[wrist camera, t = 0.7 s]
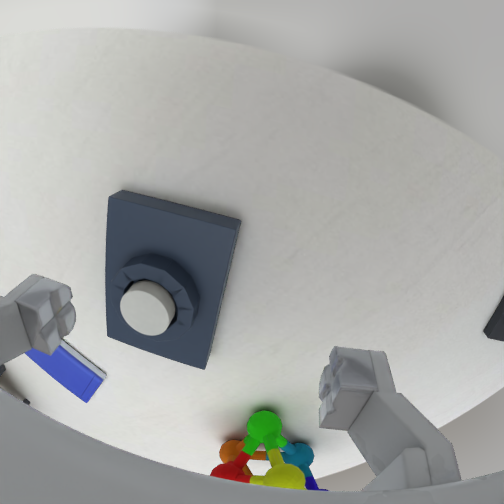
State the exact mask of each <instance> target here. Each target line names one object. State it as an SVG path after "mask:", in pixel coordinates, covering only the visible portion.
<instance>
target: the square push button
mask: <svg viewBox="0 0 504 504" xmlns="http://www.w3.org/2000/svg"><path fill="white" fill-rule="evenodd" d="M483 332H484V333H485V335H486V336H487V338H490V339H495V340H500V341H504V297H503V299H502V300H501V302H500V304H499V306H498V308H497V309H496V311H495V313H494V314H493V316H492V318H491V319H490V321H489V323H488V324H487V326H486V328H485V329H484V331H483Z"/></svg>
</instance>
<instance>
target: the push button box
mask: <svg viewBox="0 0 504 504" xmlns="http://www.w3.org/2000/svg"><path fill="white" fill-rule="evenodd" d="M240 224H241V220H238V219H235V218H231V217H227V216H223V215H220V214H216V213H212V212H208V211H204V210H201V209H197V208H193V207H189V206H185V205H181V204H177V203H173V202H169V201H165V200H161V199H157V198H153V197H149V196H145V195H141V194H137V193H133V192H129V191H125V190H121V191H119V192H117V193H115V194H113V195H111V196H109V199H108V213H107V231H106V266H105V286H106V321H107V336H108V337H110V338H113V339H115V340H118V341H121V342H123V343H126V344H128V345H131V346H134V347H137V348H139V349H142V350H145V351H148V352H151V353H153V354H156V355H159V356H162V357H165V358H168V359H171V360H174V361H177V362H180V363H184V364H187V365H190V366H193V367H197V368H200V369H203V370H205V368H206V365H207V362H208V359H209V356H210V352H211V348H212V343H213V339H214V335H215V330H216V326H217V321H218V317H219V313H220V308H221V304H222V300H223V296H224V291H225V287H226V283H227V278H228V274H229V270H230V266H231V262H232V257H233V253H234V249H235V245H236V241H237V237H238V233H239V228H240ZM143 280H147V281H152V282H155V283H158V284H160V285H161V286H163V287H164V288H165V289H166V290H167V291H168V292H169V293H170V294H171V296H172V298H173V300H174V302H175V308H176V309H175V315H174V317H173V319H172V321H171V322H170V324H169V326H168V328H167V329H166V330H165V331H164V332H163V333H161V334H159V335H153V336H151V335H145V334H142V333H140V332H138V331H136V330H134V329H133V328H132V327H131V326H130V325H129V324H128V323H127V322H126V321H125V319H124V318H123V316H122V313H121V309H120V302H121V299H122V297H123V296H124V294H125V293H126V292H127V291H128V290H129V289H130V287H131V286H132V285H133V284H135V283H136V282H139V281H143Z"/></svg>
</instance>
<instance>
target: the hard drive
mask: <svg viewBox="0 0 504 504" xmlns="http://www.w3.org/2000/svg"><path fill="white" fill-rule="evenodd" d="M25 354H26V355H27V356H28V357H30V358H31V359H32V360H33V361H34V362H35V363H36V364H37V365H39V366H40V367H41V368H42V369H43V370H44V371H46V372H47V373H48V374H49V375H50V376H52V377H53V378H54V379H55V380H56V381H58V382H59V383H60V384H62V385H63V386H64V387H65V388H67V389H68V390H69V391H71V392H72V393H73V394H75V395H76V396H77V397H79V398H80V399H81V400H83V401H84V402H85V403H87V402H88V401H89V400H90V398H91V397H92V395H93V394H94V393H95V391H96V390H97V388H98V387H99V386H100V384H101V383H102V382H103V380H104V379H105V377H106V374H105V373H103V372H102V371H101V370H99V369H98V368H97V367H96V366H94V365H93V364H92V363H90V362H89V361H88V360H87V359H85V358H84V357H83V356H81V355H80V354H79V353H78V352H76V351H75V350H74V349H73V348H72V347H70V346H69V345H68V344H67V343H65V342H64V341H63V340H62V339H61V344H60V345H59V346H58V347H57V349H56V350H55V351H54V352H53V353H52V355H51V356H50V355H48V354H45V353H43V352H41V351H38V350H36V349H34V348H32V349H31V350H29V351H27V352H25Z"/></svg>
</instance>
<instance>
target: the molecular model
mask: <svg viewBox="0 0 504 504" xmlns="http://www.w3.org/2000/svg"><path fill="white" fill-rule="evenodd" d="M281 430H282V423H281V420H280V419H279V417H278V416H277V415H276V414H274V413H272V412H271V411H264V410H263V411H259V412H256V413H255V414H253V415H252V416H251V417H250V418H249V421H248V423H247V432H248V435H247V436H246V437H245V438H244V439H243V440H242V441H239V440H230V441H227V442H226V443H224V444H223V445H222V446H221V449H220V451H219V453H220V458H221V460H222V462H223V463H225V464H220V465H218V466H217V467H215V468H214V469H213V470H212V472H211V474H210V476H213V477H217V478H222V479H227V480H233V481H238V482H244V483H250V484H256V485H263V486H271V487H279V488H289V489H300V490H315V491H328V490H326V489H319V488H318V486H317V484H316V482H315V479H314V477H313V475H312V473H311V471H310V468H309V466H310V465H311V464H312V462H313V459H314V453H313V450H312V449H311V448H310V446H308V445H306V444H304V443H295V444H291V443H290V442H289V441H288V440H287V439H285V438H284V437H283V436H282V435H281ZM260 443H264V445H265V448H266V451H255V450H256V449H257V447H258V446H259V444H260ZM278 446H279V447H280V448H281V449H282V450H283V451H285V452H280V450H279V448H278ZM249 459H252V460H269V461H270V463H271V466H272V468H271V469H269V470H268V471H267V473H266V475H265V476H257V475H253V474H252V473H251V471H250V469H249V468H248V466H247V464H246V463H247V462H248V460H249ZM284 462H285V463H284ZM304 486H306V489H305V488H304Z"/></svg>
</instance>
